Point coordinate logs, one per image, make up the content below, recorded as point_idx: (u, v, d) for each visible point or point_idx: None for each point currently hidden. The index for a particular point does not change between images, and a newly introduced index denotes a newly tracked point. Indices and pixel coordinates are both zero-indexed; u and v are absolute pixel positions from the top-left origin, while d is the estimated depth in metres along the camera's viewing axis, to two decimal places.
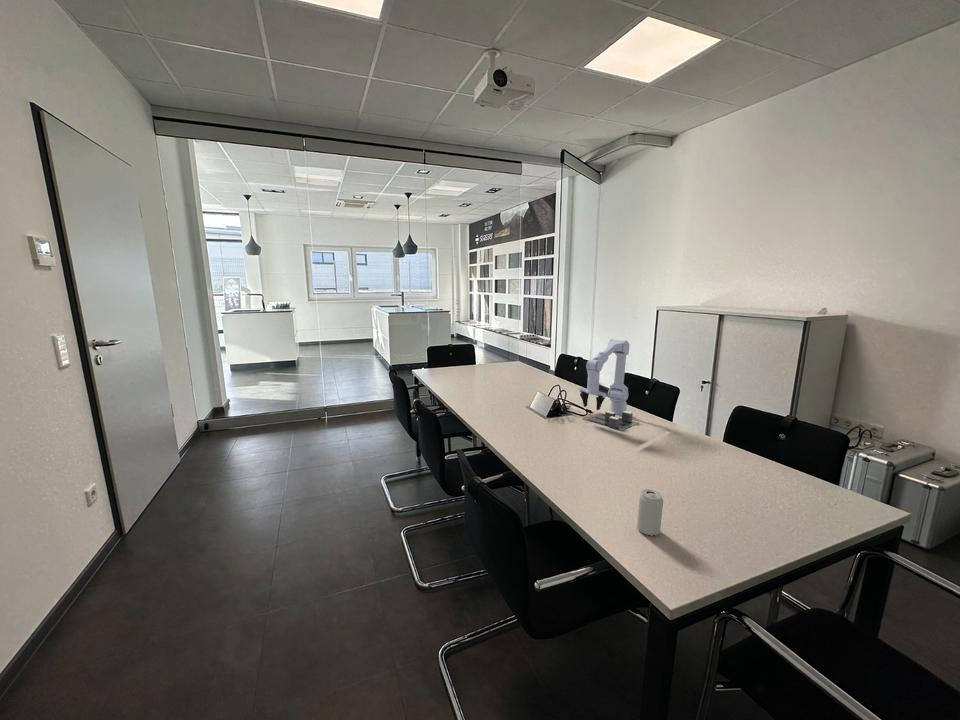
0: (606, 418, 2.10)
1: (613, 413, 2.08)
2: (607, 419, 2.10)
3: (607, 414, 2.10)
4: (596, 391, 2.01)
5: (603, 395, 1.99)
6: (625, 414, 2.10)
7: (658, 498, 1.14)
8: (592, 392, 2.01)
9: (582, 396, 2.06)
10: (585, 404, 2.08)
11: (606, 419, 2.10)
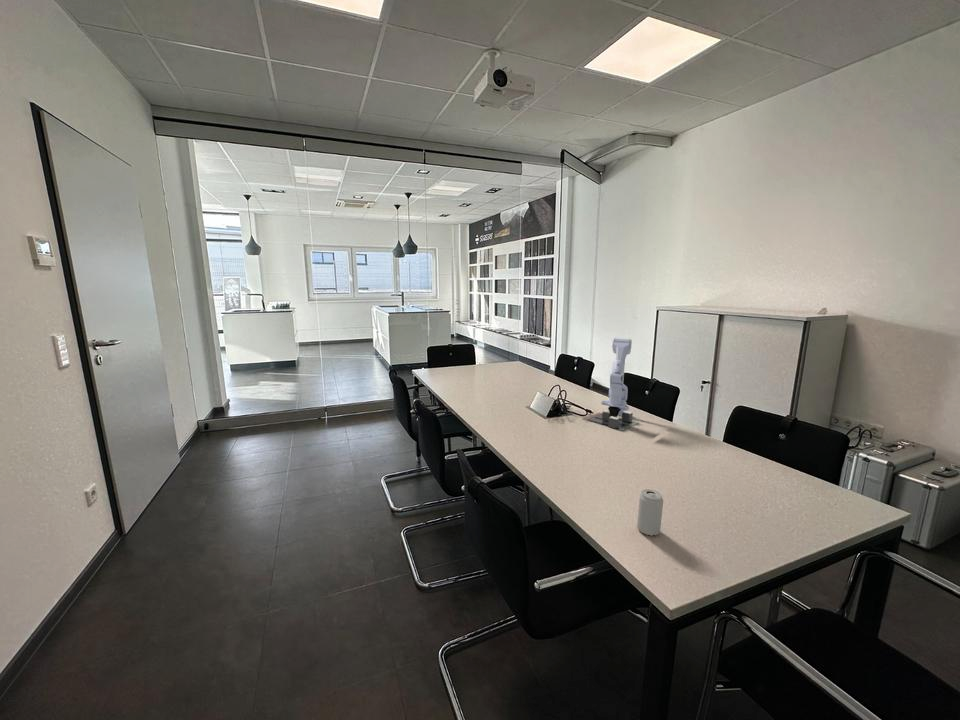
0: (603, 417, 2.12)
1: None
2: (604, 418, 2.11)
3: (604, 413, 2.11)
4: (618, 404, 2.05)
5: (626, 408, 2.02)
6: (625, 414, 2.10)
7: (658, 498, 1.14)
8: (615, 405, 2.05)
9: (610, 410, 2.07)
10: None
11: (603, 418, 2.12)
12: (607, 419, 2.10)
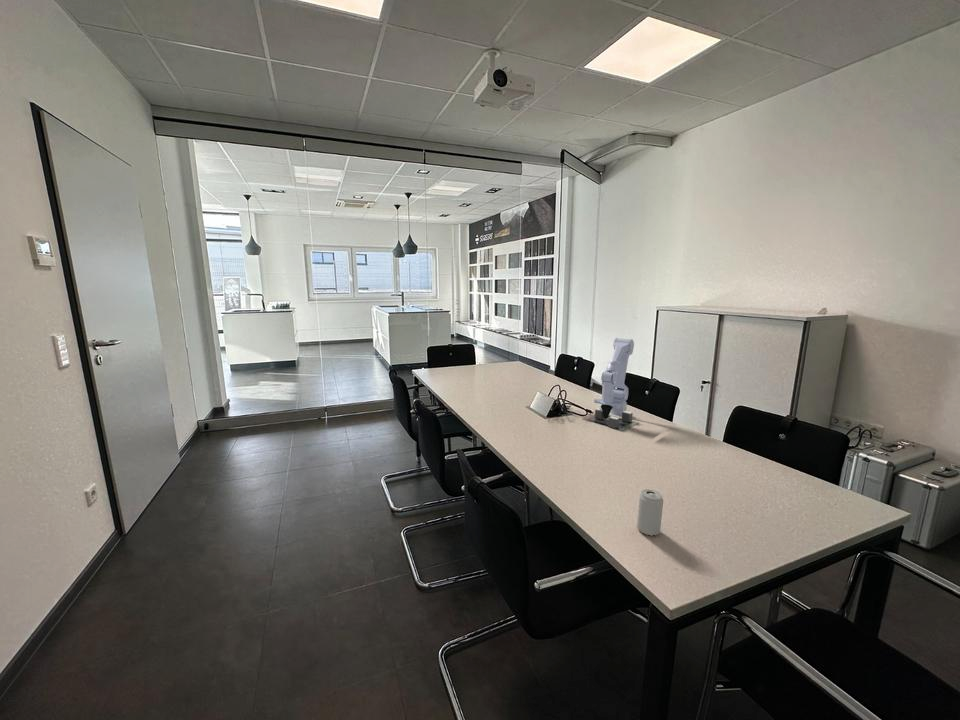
0: (596, 415, 2.15)
1: None
2: (597, 416, 2.14)
3: (597, 411, 2.14)
4: (610, 402, 2.08)
5: (617, 406, 2.06)
6: (625, 414, 2.10)
7: (658, 498, 1.14)
8: (607, 403, 2.08)
9: (603, 408, 2.11)
10: None
11: (596, 416, 2.15)
12: (600, 417, 2.13)
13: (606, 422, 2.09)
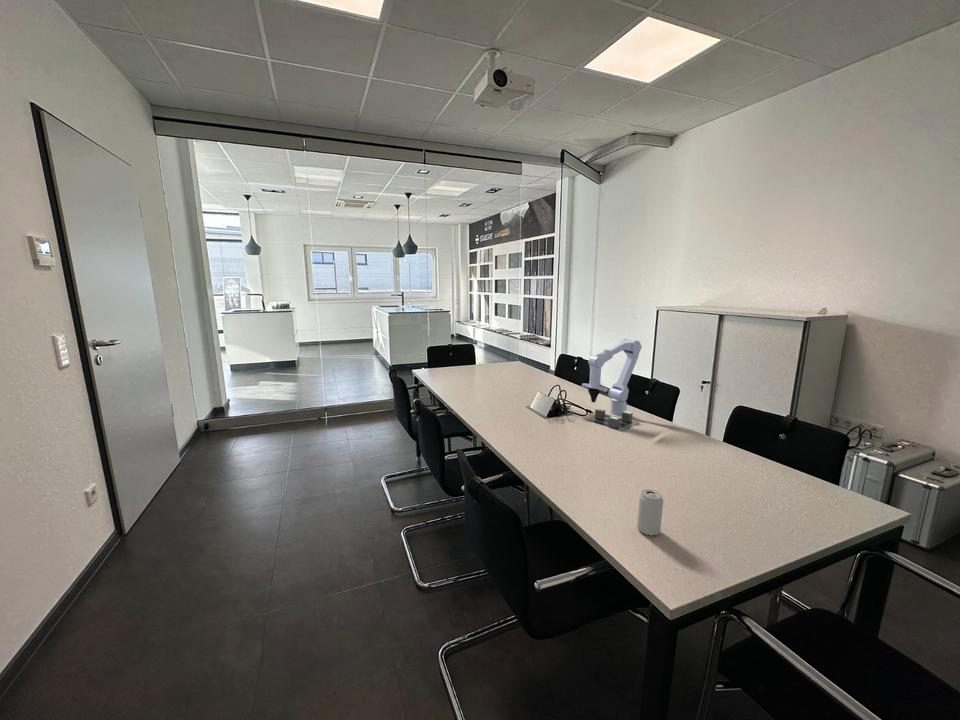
0: (596, 415, 2.15)
1: (603, 410, 2.13)
2: (597, 416, 2.14)
3: (597, 411, 2.14)
4: (598, 386, 2.13)
5: (604, 390, 2.10)
6: (625, 414, 2.10)
7: (658, 498, 1.14)
8: (594, 387, 2.13)
9: (590, 392, 2.15)
10: None
11: (596, 416, 2.15)
12: (600, 417, 2.13)
13: (606, 422, 2.09)
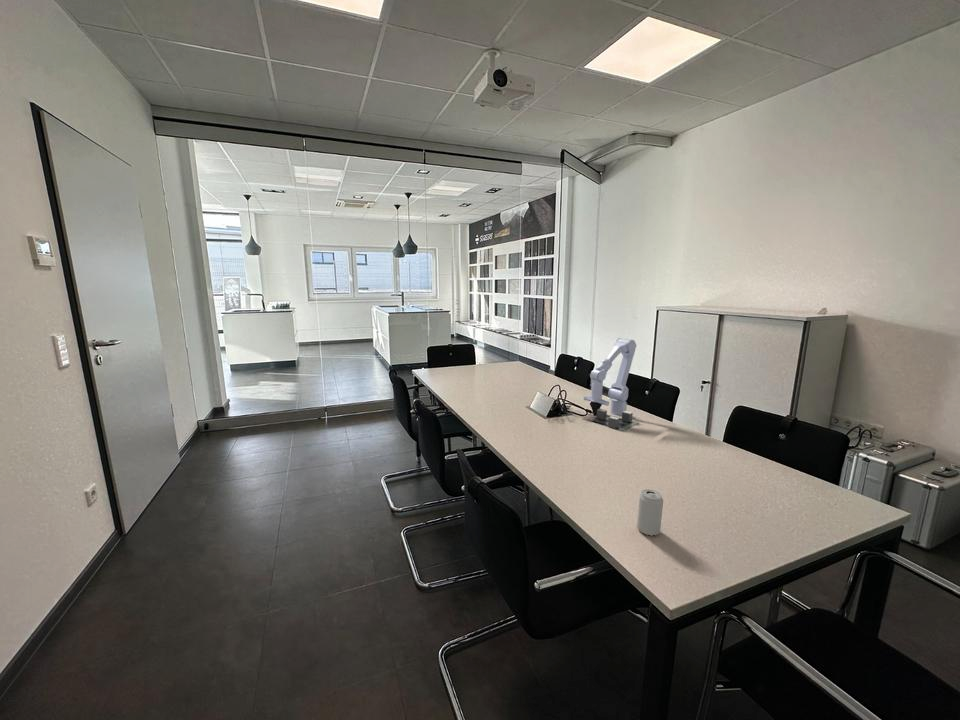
0: (598, 416, 2.14)
1: (604, 411, 2.12)
2: (598, 417, 2.14)
3: (598, 412, 2.13)
4: (599, 399, 2.13)
5: (606, 404, 2.10)
6: (625, 414, 2.10)
7: (658, 498, 1.14)
8: (596, 400, 2.13)
9: (592, 405, 2.15)
10: None
11: (598, 417, 2.14)
12: (601, 417, 2.13)
13: (606, 422, 2.09)
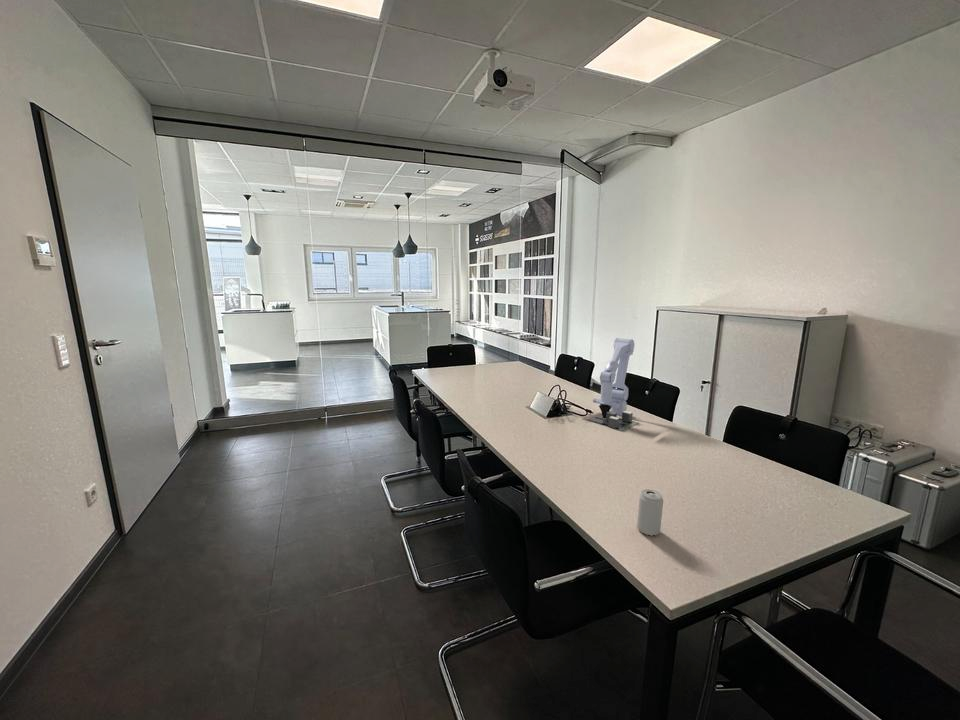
0: (607, 418, 2.10)
1: (614, 413, 2.08)
2: (608, 419, 2.10)
3: (608, 414, 2.09)
4: (609, 402, 2.09)
5: (616, 406, 2.06)
6: (625, 414, 2.10)
7: (658, 498, 1.14)
8: (605, 403, 2.09)
9: (601, 408, 2.11)
10: None
11: (607, 419, 2.10)
12: None
13: (606, 422, 2.09)
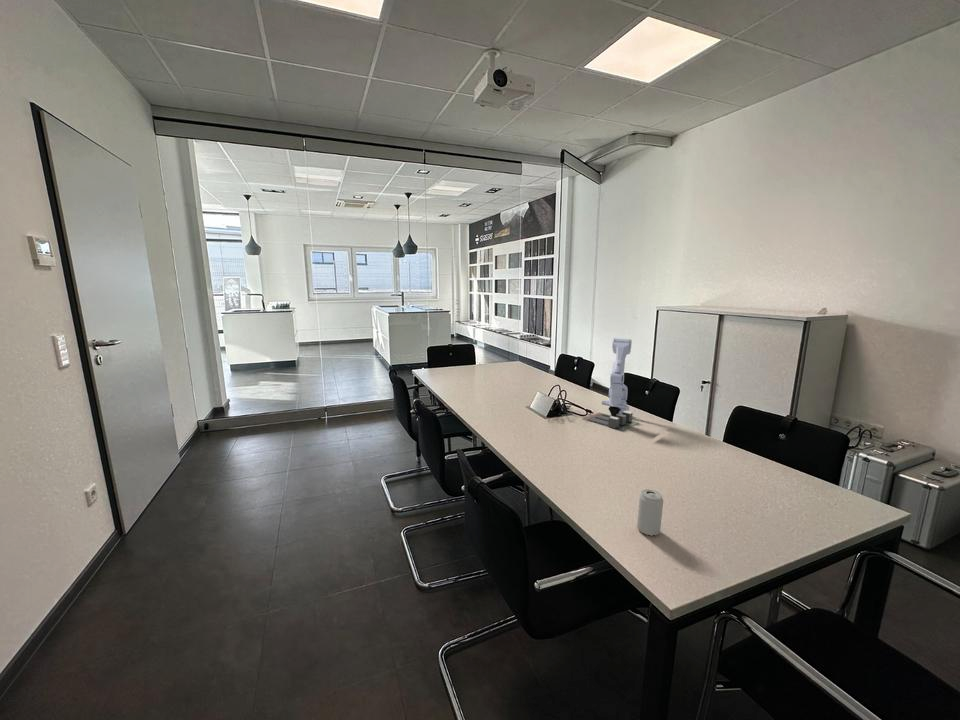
0: None
1: (624, 416, 2.04)
2: None
3: (618, 417, 2.05)
4: (619, 404, 2.05)
5: (626, 408, 2.02)
6: (625, 414, 2.10)
7: (658, 498, 1.14)
8: (615, 405, 2.05)
9: (611, 410, 2.07)
10: None
11: None
12: (621, 423, 2.04)
13: (606, 422, 2.09)
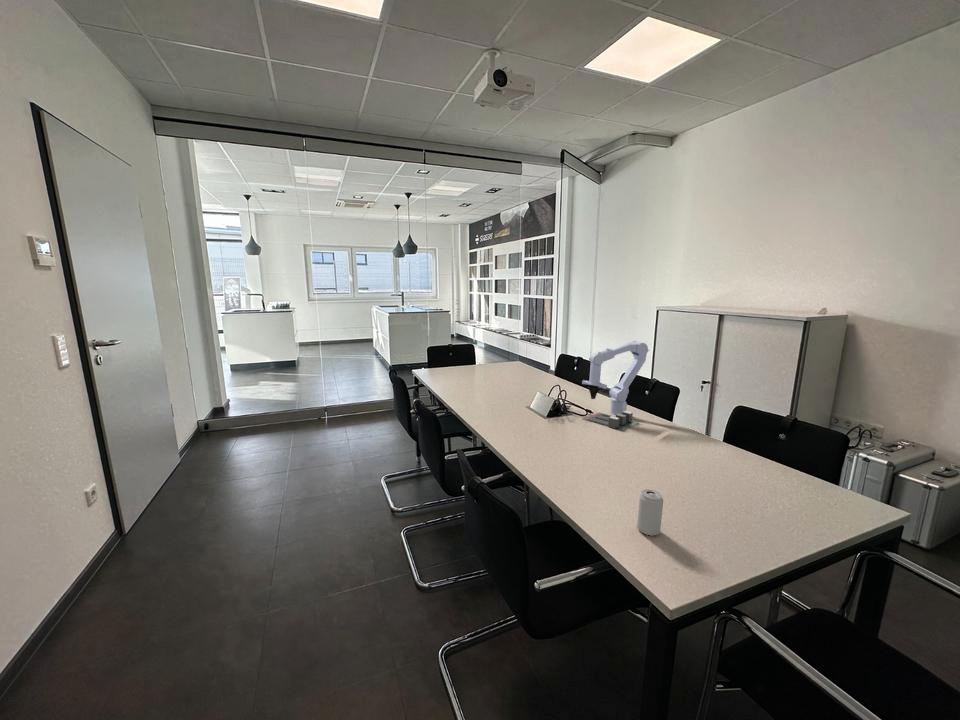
0: None
1: (624, 416, 2.04)
2: None
3: (618, 417, 2.05)
4: (597, 383, 2.18)
5: (604, 387, 2.15)
6: (625, 414, 2.10)
7: (659, 498, 1.14)
8: (594, 384, 2.17)
9: (590, 389, 2.20)
10: None
11: None
12: (621, 423, 2.04)
13: (606, 422, 2.09)
